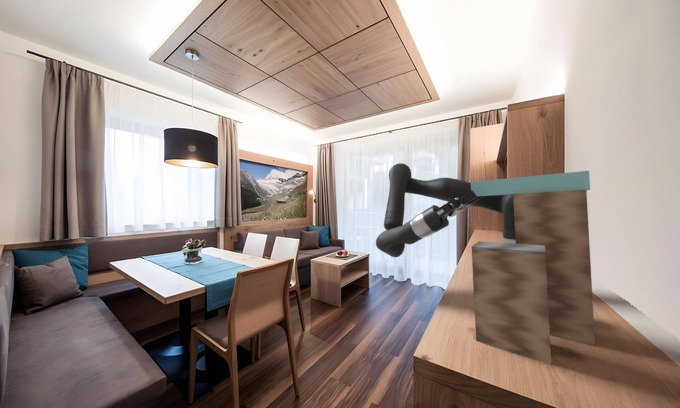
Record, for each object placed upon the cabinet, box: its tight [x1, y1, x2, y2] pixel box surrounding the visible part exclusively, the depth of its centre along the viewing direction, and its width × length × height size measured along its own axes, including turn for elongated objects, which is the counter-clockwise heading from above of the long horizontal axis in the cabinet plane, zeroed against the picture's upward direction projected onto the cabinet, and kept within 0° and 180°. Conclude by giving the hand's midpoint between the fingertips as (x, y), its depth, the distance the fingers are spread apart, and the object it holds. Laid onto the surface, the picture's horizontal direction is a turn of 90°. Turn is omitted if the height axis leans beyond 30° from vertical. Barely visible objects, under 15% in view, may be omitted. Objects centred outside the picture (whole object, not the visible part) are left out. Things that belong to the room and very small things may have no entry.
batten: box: [470, 170, 591, 196], centre depth 56 cm, size 22×4×4 cm, turn 46°
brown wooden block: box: [471, 241, 552, 365], centre depth 48 cm, size 12×8×21 cm, turn 48°
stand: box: [513, 190, 596, 347], centre depth 52 cm, size 12×7×32 cm, turn 48°
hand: (478, 193), depth 62 cm, fingers open, 8 cm apart
